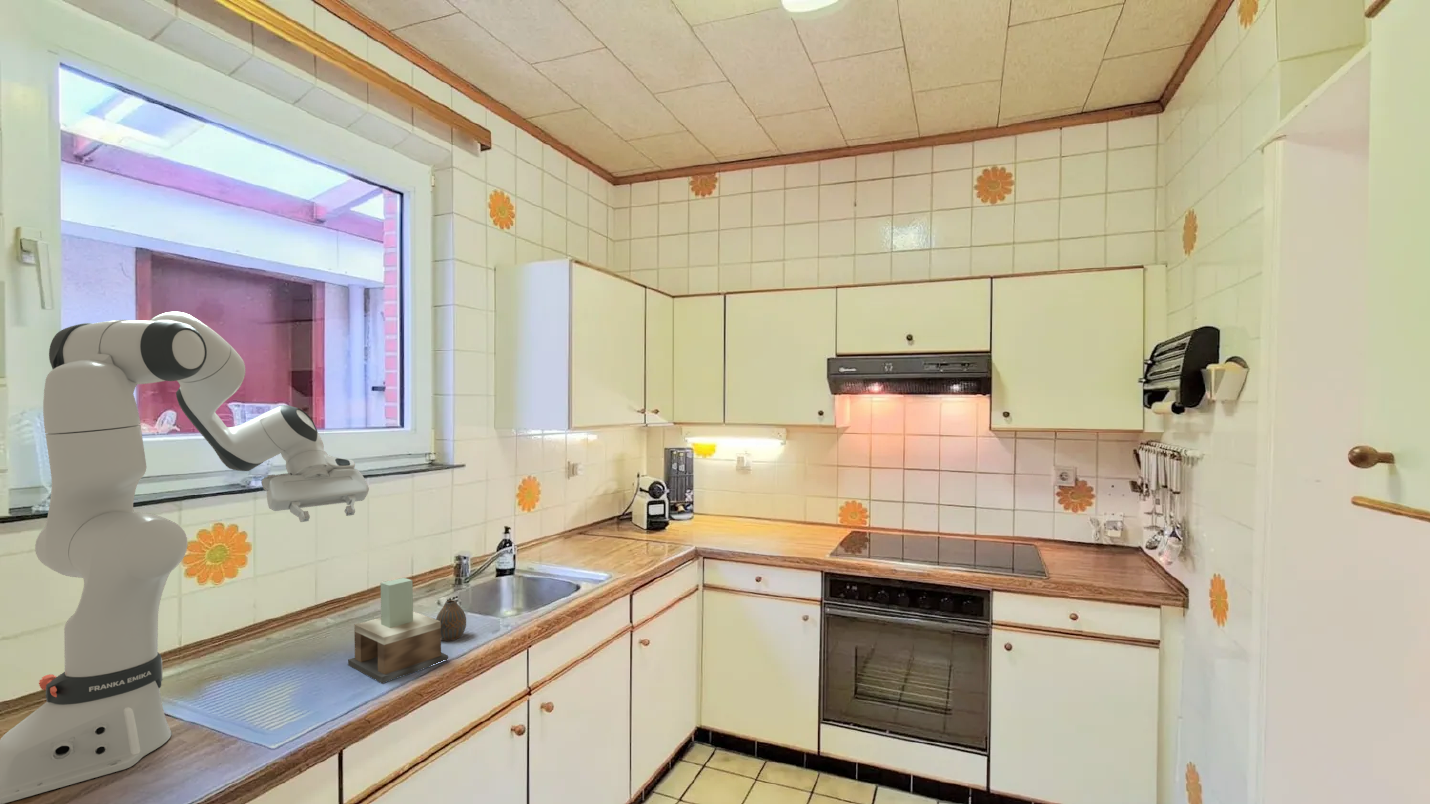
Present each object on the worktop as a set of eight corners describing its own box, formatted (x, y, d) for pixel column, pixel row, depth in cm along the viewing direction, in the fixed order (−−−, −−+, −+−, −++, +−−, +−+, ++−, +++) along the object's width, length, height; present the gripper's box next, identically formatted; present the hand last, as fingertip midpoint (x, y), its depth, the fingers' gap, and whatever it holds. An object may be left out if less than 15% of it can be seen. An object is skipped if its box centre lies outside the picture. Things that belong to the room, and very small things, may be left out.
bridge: (381, 683, 126) (381, 640, 127) (348, 665, 136) (347, 624, 136) (447, 660, 137) (447, 620, 138) (412, 645, 147) (411, 608, 147)
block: (389, 628, 134) (389, 585, 134) (381, 624, 136) (380, 582, 136) (413, 621, 138) (412, 580, 138) (404, 618, 140) (403, 577, 140)
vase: (457, 630, 157) (456, 595, 157) (472, 636, 152) (471, 600, 152) (430, 639, 151) (429, 602, 151) (444, 645, 147) (443, 607, 147)
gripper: (262, 466, 139) (279, 514, 133) (360, 459, 155) (379, 502, 149) (256, 485, 142) (271, 533, 136) (352, 476, 158) (370, 519, 152)
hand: (328, 516), depth 143 cm, fingers open, 8 cm apart
